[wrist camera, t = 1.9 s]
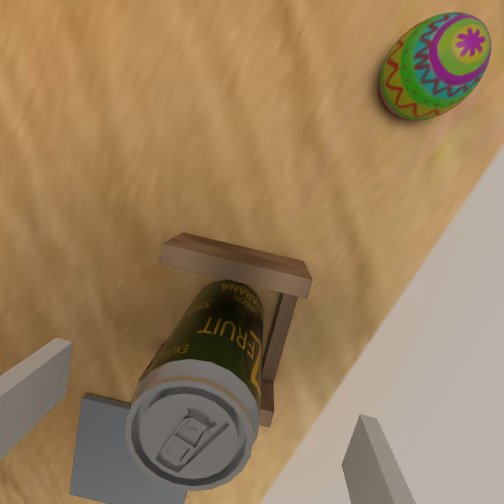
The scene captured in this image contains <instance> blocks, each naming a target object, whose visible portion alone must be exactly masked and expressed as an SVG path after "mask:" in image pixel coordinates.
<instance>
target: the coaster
mask: <svg viewBox="0 0 504 504" xmlns="http://www.w3.org/2000/svg"><path fill="white" fill-rule="evenodd" d="M130 409H131V404H129V403H125V402H121V401H117V400H113V399H109V398H104V397H100V396H96V395H92V394H88V393H86V394H85V395H84V396H83V397H82V402H81V409H80V417H79V425H78V432H77V440H76V448H75V455H74V463H73V471H72V478H71V486H70V494H71V495H75V496H79V497H83V498H87V499H92V500H96V501H100V502H104V503H108V504H184V500H185V496H186V492H187V490H182V489H176V488H172V487H170V486H167V485H165V484H163V483H161V482H158V481H156V480H155V479H153V478H152V477H151V476H150V475H148V474H147V473H146V472H144V471H143V470H142V469H141V468H140V467H139V465H138V464H137V463H136V461H135V460H134V458H133V457H132V456H131V454H130V451H129V448H128V445H127V442H126V439H125V426H126V418H127V416H128V414H129V412H130Z"/></svg>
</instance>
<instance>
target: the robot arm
mask: <svg viewBox="0 0 504 504" xmlns="http://www.w3.org/2000/svg"><path fill="white" fill-rule="evenodd" d="M72 345H73V342H72V341H68V340H64V339H60V338H57V337H56V338H55V339H53V340H52V341H51V342H49V343H48V344H46V345H45V346H43V347H42V348H40V349H39V350H37V351H36V352H34V353H33V354H31V355H30V356H28V357H27V358H26V359H24V360H23V361H21V362H20V363H18V364H17V365H15V366H14V367H12V368H11V369H9V370H8V371H6V372H5V373H4V374H2V375H1V376H0V460H1V459H2V458H3V457H4V456H5V455H6V454H7V453H8V452H9V451H10V450H11V449H12V448H13V447H14V446H15V445H16V444H17V443H18V442H19V441H20V440H21V439H22V438H23V437H24V436H25V435H26V434H27V433H28V432H29V431H30V430H31V429H32V428H33V427H34V426H35V425H36V424H37V423H38V422H39V421H40V420H41V419H42V418H43V417H44V416H45V415H46V414H47V413H48V412H49V411H50V410H51V409H52V408H53V407H54V406H55V405H56V404H57V403H58V402H59V401H60V400H61V399H62V398H63V397H64V396H65V395H66V394H67V387H68V379H69V370H70V362H71V353H72ZM342 468H343V472H344V476H345V480H346V484H347V488H348V492H349V495H350V500H351V504H416V503H415V501H414V499H413V497H412V495H411V493H410V490H409V488H408V486H407V484H406V481H405V479H404V477H403V475H402V473H401V471H400V468H399V466H398V464H397V461H396V459H395V457H394V455H393V453H392V450H391V448H390V446H389V444H388V442H387V439H386V438H385V435H384V433H383V431H382V428H381V426H380V424H379V422H378V420H377V419H376V418H372V417H368V416H365V415H360V416H359V418H358V421H357V424H356V427H355V430H354V432H353V435H352V438H351V441H350V444H349V446H348V449H347V452H346V454H345V458H344V460H343V463H342Z"/></svg>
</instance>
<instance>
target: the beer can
mask: <svg viewBox="0 0 504 504" xmlns="http://www.w3.org/2000/svg"><path fill="white" fill-rule="evenodd" d="M262 343H263V311H262V306H261V304H260V302H259V300H258V298H257V297H256V295H255V294H254V293H253V292H252V291H250V290H249V289H248V288H247V287H245V286H243V285H240V284H238V283H235V282H227V281H224V282H218V283H213V284H211V285H210V286H208V287H206V288H204V289H203V290H202V291H201V292H200V293H199V294H198V295H197V296H196V298H195V299H194V301H193V302H192V304H191V305H190V307H189V308H188V310H187V312H186V313H185V315H184V316H183V318H182V319H181V321H180V322H179V324H178V325H177V327H176V328H175V330H174V331H173V333H172V334H171V336H170V337H169V339H168V340H167V342H166V343H165V345H164V346H163V348H162V349H161V351H160V352H159V354H158V355H157V357H156V358H155V360H154V362H153V363H152V365H151V366H150V368H149V369H148V371H147V372H146V374H145V375H144V377H143V378H142V380H141V381H140V383H139V384H138V387H137V389H136V391H135V393H134V396H133V398H132V401H131V409H130V412H129V414H128V416H127V418H126V426H125V439H126V442H127V445H128V448H129V451H130V454H131V456H132V457H133V458H134V460H135V461H136V463H137V464H138V465H139V467H140V468H141V469H142V470H143V471H144V472H146V473H147V474H148V475H150V476H151V477H152V478H153V479H155V480H156V481H158V482H161V483H163V484H165V485H167V486H170V487H172V488H176V489H182V490H189V491H199V490H208V489H213V488H216V487H218V486H220V485H223V484H225V483H228V482H229V481H231V480H232V479H233V478H234V477H235V476H236V475H238V474H239V473H240V472H241V471H242V470H243V468H244V466H245V465H246V463H247V461H248V459H249V458H250V456H251V449H252V445H253V443H254V441H255V439H256V438H257V434H258V428H259V421H260V400H261V372H262Z"/></svg>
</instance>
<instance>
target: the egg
mask: <svg viewBox="0 0 504 504" xmlns="http://www.w3.org/2000/svg"><path fill="white" fill-rule="evenodd" d="M490 54H491V39H490V35H489V32H488V30H487V28H486V26H485V25H484V24H483V23H482V22H481V21H480V20H479V19H478V18H476V17H474V16H472V15H469V14H466V13H459V12H451V13H444V14H440V15H436V16H433V17H431V18H428V19H426V20H424V21H422V22H420V23H419V24H417V25H415V26H414V27H412V28H411V29H410V30H409V31H407V32H406V33H405V34H404V35H403V36H402V37H401V38H400V39H399V40H398V41H397V42H396V43H395V45H394V46H393V47H392V49H391V50H390V52H389V54H388V55H387V57H386V59H385V61H384V64H383V67H382V70H381V74H380V93H381V97H382V99H383V102H384V103H385V105H386V106H387V108H388V109H389V110H390V111H391V112H393V113H394V114H395V115H397V116H399V117H402V118H405V119H409V120H424V119H429V118H433V117H436V116H438V115H441V114H443V113H445V112H447V111H449V110H450V109H452V108H453V107H455V106H456V105H458V104H459V103H460V102H461V101H463V100H464V99H465V98H466V97H467V96H468V95H469V94H470V93H471V92H472V90H473V89H474V88H475V87H476V85H477V84H478V83H479V81H480V79H481V78H482V76H483V74H484V72H485V70H486V68H487V65H488V62H489V59H490Z"/></svg>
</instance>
